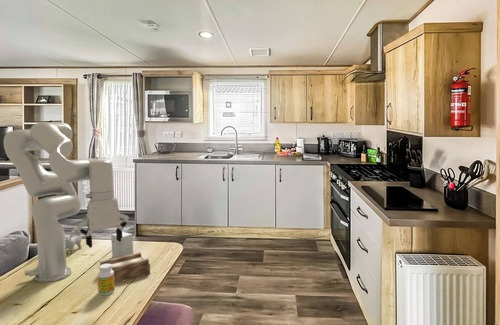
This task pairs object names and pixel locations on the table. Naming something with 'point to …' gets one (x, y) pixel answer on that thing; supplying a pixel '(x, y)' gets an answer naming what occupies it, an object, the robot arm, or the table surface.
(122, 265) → the display stand
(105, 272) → the supplement bottle
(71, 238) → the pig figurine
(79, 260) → the table surface
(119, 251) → the small box
